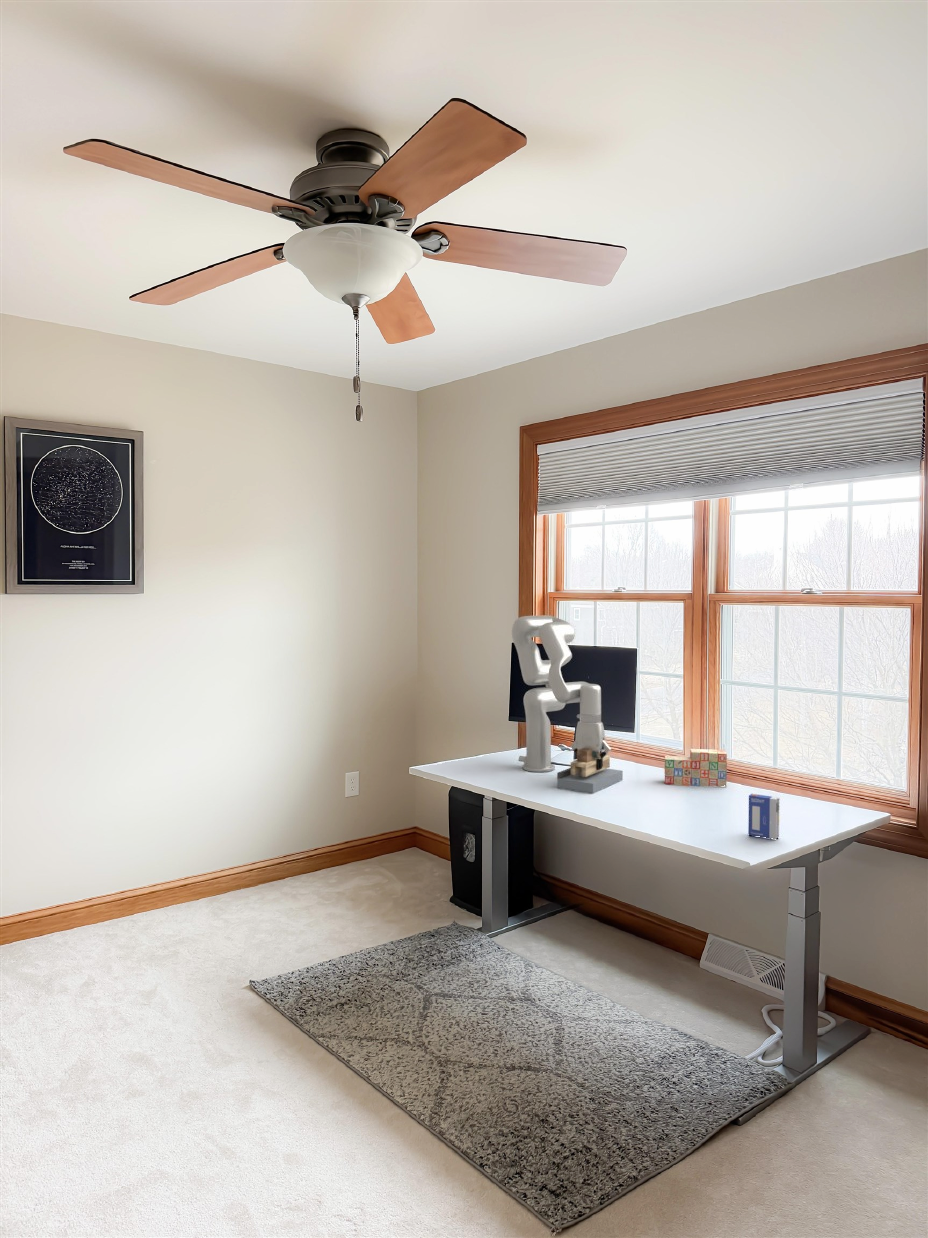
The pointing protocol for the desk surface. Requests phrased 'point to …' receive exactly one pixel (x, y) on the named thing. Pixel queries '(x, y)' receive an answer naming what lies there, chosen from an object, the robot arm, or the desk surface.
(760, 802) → the walkman
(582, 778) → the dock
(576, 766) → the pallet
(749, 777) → the desk surface
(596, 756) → the teal cube
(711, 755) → the stack of blocks
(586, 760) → the brown wooden cube
